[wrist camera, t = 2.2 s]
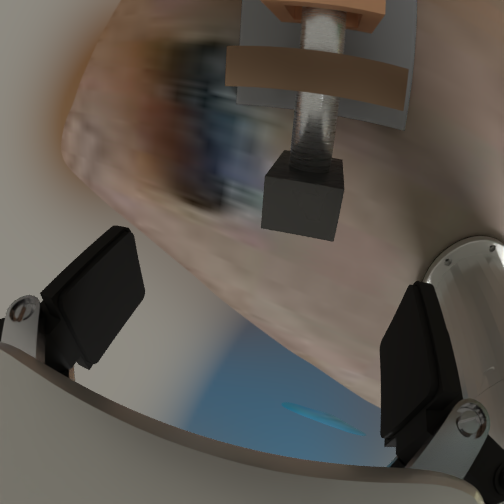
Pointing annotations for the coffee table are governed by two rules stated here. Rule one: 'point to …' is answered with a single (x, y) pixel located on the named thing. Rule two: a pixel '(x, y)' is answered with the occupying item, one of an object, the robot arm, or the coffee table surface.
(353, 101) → the base board
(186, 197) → the coffee table surface
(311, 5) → the collar
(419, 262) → the coffee table surface
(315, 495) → the robot arm
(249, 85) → the stand
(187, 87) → the coffee table surface
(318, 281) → the coffee table surface
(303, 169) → the shaft
